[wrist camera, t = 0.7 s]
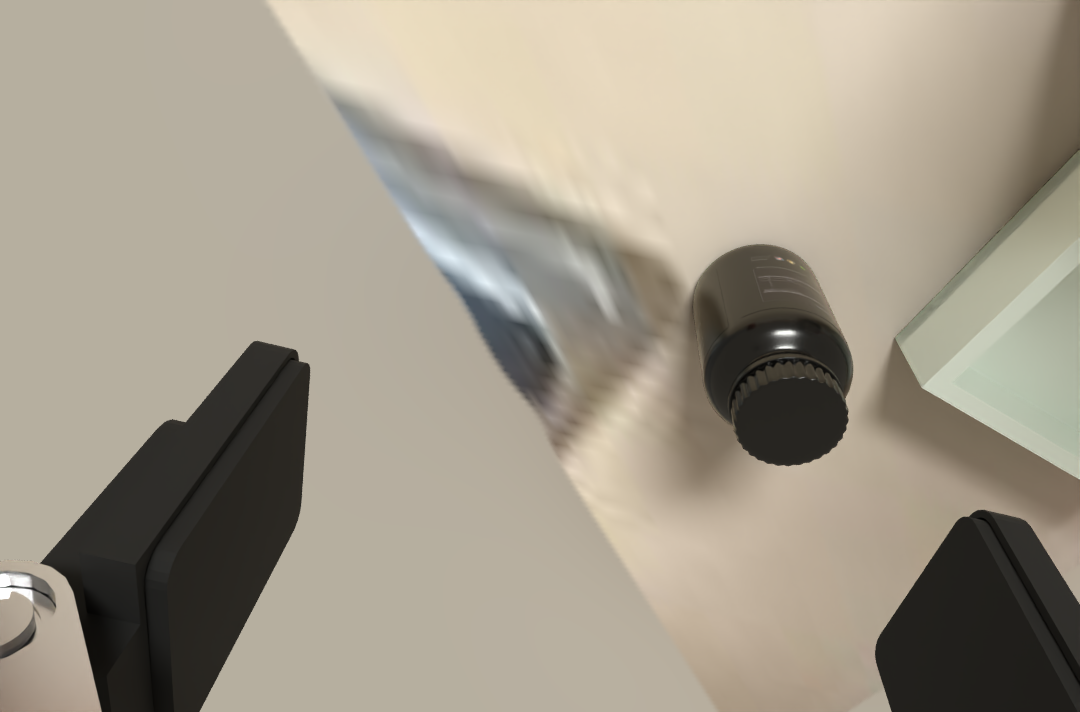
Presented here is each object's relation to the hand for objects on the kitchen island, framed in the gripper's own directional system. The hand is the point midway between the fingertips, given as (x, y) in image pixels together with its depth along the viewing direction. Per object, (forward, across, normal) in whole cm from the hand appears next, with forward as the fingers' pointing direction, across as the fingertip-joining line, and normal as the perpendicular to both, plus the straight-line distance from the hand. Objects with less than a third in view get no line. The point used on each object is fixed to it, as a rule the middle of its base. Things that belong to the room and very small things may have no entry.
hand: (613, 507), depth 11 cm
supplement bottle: (+32, -10, +10) cm, 35 cm away
